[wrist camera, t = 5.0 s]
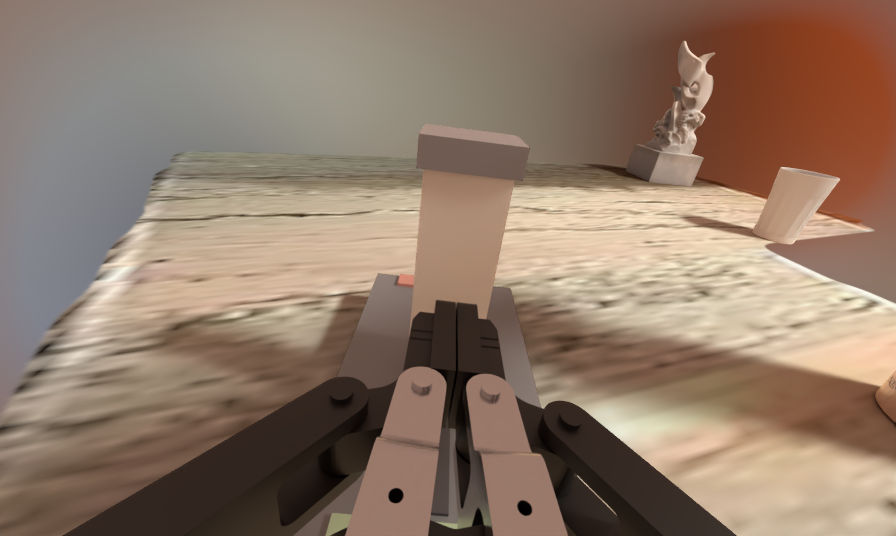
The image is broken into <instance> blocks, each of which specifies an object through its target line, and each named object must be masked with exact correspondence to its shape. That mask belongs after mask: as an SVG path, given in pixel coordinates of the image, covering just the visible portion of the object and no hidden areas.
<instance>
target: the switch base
mask: <svg viewBox="0 0 896 536" xmlns="http://www.w3.org/2000/svg"><path fill="white" fill-rule="evenodd" d="M413 287H414V276H413V275H404V274H400V276H397V275H388V274H379V273H378V275H377V277H376V280H375V282H374V285H373V287H372V290H371V292H370V295H369V297H368V300H367V302H366V305H365V307H364V310H363V312H362V315H361V317H360V320H359V322H358V325H357V327H356V330H355V332H354V335H353V337H352V340H351V342H350V345H349V347H348V350H347V352H346V355H345V357H344V360H343V362H342V365H341V367H340V370H339V372H338V375H337V377H353V378H356V379H358V380H360V381H362V382H363V383H364V384H365V385H366V387H367V388H368V389H372V388H378V387H383V386H386V385H389V384H391V383H393V382H394V381H396V380H397V379H398V378H399V376H400V375H401V374H402V372H403V369H404V363H405V358H406V352H407V347H408V341H409V333H410V322H411V310H412V299H413ZM486 319H488V320H491V322H492V323H493V324H494V326H495V327H496V328H497V331H498V337H499V343H500V350H501V355H502V361H503V367H504V373H505V379H506V382H508V383H509V384H510V386H511V387H512V389H513V391H514V393H515V395H516V396H517V397H518V398H520V399H521V400H523V401H525V402H527V403H529V404H532V405H534V406H537V407H540V408H541V405H540V401H539V397H538V393H537V389H536V385H535V382H534V378H533V374H532V370H531V366H530V362H529V358H528V354H527V351H526V347H525V343H524V339H523V335H522V331H521V327H520V323H519V320H518V316H517V312H516V308H515V304H514V300H513V296H512V292H511V289H510V288H503V287H494V286H493V288H492V293H491V298H490V303H489V308H488V313H487V318H486ZM337 377H336V378H337ZM455 440H456V429H451V428H448V416H447V422H446V427H445V428H442V430H441V436H440V442H439V454H438V462H437V470H436V477H435V485H434V493H433V500H432V508H431V516H430V520H432V521H434V522H437V523H439V524H442V525H444V526H447V527H450V528H453V529H457V526H458V514H457V500H456V487H455V473H454V460H453V449H454V445H455ZM365 471H366V470H365ZM365 471H364V472H363V474H362V475H361V476H360V477H359V478H358V479H357V480H356V481H355V482H354V483H353V484H352V485H351V486H350V487H348V488H347V489H346V490H345V491H344V492H343V493H342V494H340V495H339V496H338V497H337V498H336V499H335V500H334V501H332V502H331V503H330V504H329V505H328V506H327V507H326V508H324V509H323V510H322V511H321V512H320V513H319V514H318V515H316V516H315V517H314V518H313V519H312V520H311V521H309V522H308V523H307V524H306V525H305V526H304V527H303V528H301V529H300V530H299V531H298V532H297V533H296V534H295V535H293V536H330V535H332V534H334V533H336V532H338V531H340V530H342V529H344V528H347V527H348V525H349V522H350V519H351V516H352V513H353V509H354V506H355V503H356V500H357V497H358V493H359V490H360V487H361V484H362V481H363V477H364V474H365Z"/></svg>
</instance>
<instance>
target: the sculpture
mask: <svg viewBox="0 0 896 536" xmlns="http://www.w3.org/2000/svg"><path fill="white" fill-rule="evenodd" d="M714 54H715V53H710V54H707V55H703V56H701V57H699V58H697V57H696V56H695V55H694V54H692V53H691V52H690V51H689V49H688V46H687V43H686V41H683V42H682V44H681V46H680V49H679V54H678V69H679V73H680V76H681V77H682V78H681V88H679V87H675V86H671V87H670V88H671V90H672V91H673V94H674V103H673V107H672V108H671V109H669V110H668V111H667V112H666V113H665V115H664V117H663V119H662V120H660V121H657V124H656V125H655V126H654V128H653V131H654V132H655V138H653V139H652V140H651V141H648V142H647V144H646V145H638V144H635V145H634V148H633V151H632V154H631V157H630V159H629V162H628V165H627V168H626V171H627V172H629V173H631V174H633V175H635V176H637V177H640V178H642V179H644V180H646V181H648V182H654V183H664V184H673V185H683V186H691V185H692V183H693V181H694V179H695V177H696V174H697V172H698V170H699V167H700V165H701V163H702V160H703V157H700V156H696V155H693V154H691V153H692V151H693V149H694V146H695V144H696V136H695V134H694V131H695V129H696V128H697V127H698V126H700V125H701V124H702V123H703V121H704V119H705V115H704V114H702V113H701V112H700V111H701V110H702V108H703V107H704V105H705V104H706V102H707V101H708V99H709V97H710V95H711V93H712V88H713V77H712V76H711V75H708V74H707V72H706V70H705V65H706V62H707V61H708V60H709V59H710V58H711V57H712V56H713V55H714ZM692 83H695V84H694V85H693V86H692V87H691V84H692ZM690 87H691V88H690Z"/></svg>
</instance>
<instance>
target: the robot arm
mask: <svg viewBox="0 0 896 536" xmlns="http://www.w3.org/2000/svg"><path fill="white" fill-rule="evenodd" d="M875 397H876V400H877V402H878V404H879V406H880V407H881V408H882V410H883V411H884V412H885V413H886V414H887V415H888V416H889V417H890V418H891V419H892V420H893V421H894V422H895V423H896V371H895V372H894V373H893V374H892V375H891V376H890V378H889V379H888V380H887V381H886V382H885V383H884V384H883V385H882V386H881V387H880V388H879V390H878V391H877V392H876V396H875ZM447 416H448V428H451V429H456V440H455V445H454V449H453V460H454V473H455V487H456V500H457V514H458V526H457V529H453V528H450V527H447V526H444V525H442V524H439V523H437V522H434V521H432V520H430V516H431V508H432V500H433V493H434V485H435V477H436V470H437V462H438V454H439V442H440V436H441V430H442V428H445V427H446V422H447ZM365 470H366V471H365ZM364 471H365V474H364V477H363V481H362V484H361V487H360V490H359V493H358V497H357V500H356V503H355V506H354V509H353V513H352V516H351V519H350V522H349V525H348V527H347V528H344V529H342V530H340V531H338V532H336V533H334V534H332V535H330V536H737V535H735V534H734V533H733V532H732V531H730V530H729V529H728V528H727V527H726V526H724V525H723V524H722V523H721V522H720V521H718V520H717V519H716V518H715V517H713V516H712V515H711V514H710V513H709V512H707V511H706V510H705V509H704V508H702V507H701V506H700V505H699V504H698V503H696V502H695V501H694V500H693V499H692V498H690V497H689V496H688V495H687V494H685V493H684V492H683V491H682V490H681V489H679V488H678V487H677V486H676V485H675V484H673V483H672V482H671V481H670V480H668V479H667V478H666V477H665V476H664V475H662V474H661V473H660V472H659V471H657V470H656V469H655V468H654V467H653V466H651V465H650V464H649V463H648V462H647V461H645V460H644V459H643V458H642V457H640V456H639V455H638V454H637V453H636V452H634V451H633V450H632V449H631V448H629V447H628V446H627V445H626V444H625V443H623V442H622V441H621V440H620V439H619V438H617V437H616V436H615V435H614V434H612V433H611V432H610V431H609V430H608V429H606V428H605V427H604V426H603V425H601V424H600V423H599V422H598V421H597V420H595V419H594V418H593V417H592V416H591V415H589V414H588V413H587V412H586V411H584V410H583V409H582V408H580V407H579V406H577V405H575V404H573V403H570V402H566V401H554V402H551V403H549V404H548V405H547V406H546V407H545V409H542V408H540V407H537V406H534V405H532V404H529V403H527V402H525V401H523V400H521V399H520V398H518V397H517V396H516V395H515V393H514V391H513V389H512V387H511V386H510V384H509V383H508V382H506V379H505V373H504V367H503V361H502V355H501V350H500V343H499V337H498V331H497V328H496V327H495V326H494V324H493V323H492V322H491V320H488V319H480V318H478V308H477V304H469V303H461V302H457V304H456V302H452V301H444V300H436V303H435V310H434V313H428V312H419V313H418V314H417V315H416V316H415V317H414V318H413V320H412V325H411V331H410V336H409V341H408V347H407V352H406V358H405V363H404V369H403V372H402V374H401V375H400V376H399V378H398V379H397V380H396V381H394V382H393V383H391V384H389V385H386V386H383V387H378V388H372V389H368V388H367V387H366V385H365V384H364V383H363V382H362V381H360V380H358V379H356V378H353V377H337V378H333V379H330V380H328V381H326V382H324V383H323V384H321V385H319V386H317V387H316V388H314V389H312V390H311V391H309V392H307V393H305V394H304V395H302V396H300V397H299V398H297V399H295V400H294V401H292V402H290V403H288V404H287V405H285V406H283V407H282V408H280V409H278V410H276V411H275V412H273V413H271V414H270V415H268V416H266V417H264V418H263V419H261V420H259V421H258V422H256V423H254V424H253V425H251V426H249V427H247V428H246V429H244V430H242V431H241V432H239V433H237V434H235V435H234V436H232V437H230V438H229V439H227V440H225V441H224V442H222V443H220V444H218V445H217V446H215V447H213V448H212V449H210V450H208V451H206V452H205V453H203V454H201V455H200V456H198V457H196V458H195V459H193V460H191V461H189V462H188V463H186V464H184V465H183V466H181V467H179V468H177V469H176V470H174V471H172V472H171V473H169V474H167V475H165V476H164V477H162V478H160V479H159V480H157V481H155V482H154V483H152V484H150V485H148V486H147V487H145V488H143V489H142V490H140V491H138V492H136V493H135V494H133V495H131V496H130V497H128V498H126V499H125V500H123V501H121V502H119V503H118V504H116V505H114V506H113V507H111V508H109V509H107V510H106V511H104V512H102V513H101V514H99V515H97V516H96V517H94V518H92V519H90V520H89V521H87V522H85V523H84V524H82V525H80V526H78V527H77V528H75V529H73V530H72V531H70V532H68V533H66V534H65V535H63V536H293V535H295V534H296V533H297V532H298V531H299V530H300V529H301V528H303V527H304V526H305V525H306V524H307V523H308V522H309V521H311V520H312V519H313V518H314V517H315V516H316V515H318V514H319V513H320V512H321V511H322V510H323V509H324V508H326V507H327V506H328V505H329V504H330V503H331V502H332V501H334V500H335V499H336V498H337V497H338V496H339V495H340V494H342V493H343V492H344V491H345V490H346V489H347V488H348V487H350V486H351V485H352V484H353V483H354V482H355V481H356V480H357V479H358V478H359V477H360V476H361V475H362V474H363V472H364ZM577 475H578V476H579V477H580V478H581V479H582V480H583V481H584V482H585V483H586V484H587V485H588V486H589V487H590V488H591V489H592V490H593V491H594V492H595V493H596V494H597V495H598V496H599V497H600V498H601V499H602V500H604V501H605V502H606V503H607V504H608V505H609V506H610V507H611V508H612V509H613V511H614V512H615V513H616V514H614V513H613V512H612V511H611V510H610V509H609V508H608V507H607V506H606V505H605V504H604V503H603V502H602V501H601V500H600V499H599V498H598V497H597V496H596V495H595V494H594V493H593V492H592V491H591V490H590V489H589V488H588V487H587V486H586V485H585V484H584V483H583V482H582V481H581V480H580V479H579V478H578V477H577Z"/></svg>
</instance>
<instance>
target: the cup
mask: <svg viewBox="0 0 896 536" xmlns="http://www.w3.org/2000/svg"><path fill="white" fill-rule="evenodd" d="M839 180H840V179H839V178H837V177H833V176H830V175H825V174H821V173H816V172H811V171H806V170H800V169H794V168H785V167H781V168H780V170H779V172H778V175H777V177H776V180H775V182H774V184H773V188H772V190H771V193H770V195H769V197H768V199H767V202H766V204H765V206H764V209H763V211H762V213H761V215H760V218H759V220H758V222H757V224H756V225H755V227H754V229H753V231H752V232H753V233H754V234H755V235H757V236H759V237H762V238H764V239H767V240H771V241H774V242H779V243H784V244H793V243H794V242H795V240H796V238H797V237H798V235H799V234H800V232H801V231H802V230H803V228H804V227H805V226H806V224H807V223H808V222H809V220H810V219H811V217H812V216H813V215H814V213H815V212H816V211H817V209H818V208H819V206H820V205H821V204H822V202H823V201H824V200H825V198H826V197H827V196H828V195H829V193H830V192H831V191H832V189H833V188H834V187H835V185H836V184H837V183H838V181H839Z"/></svg>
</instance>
